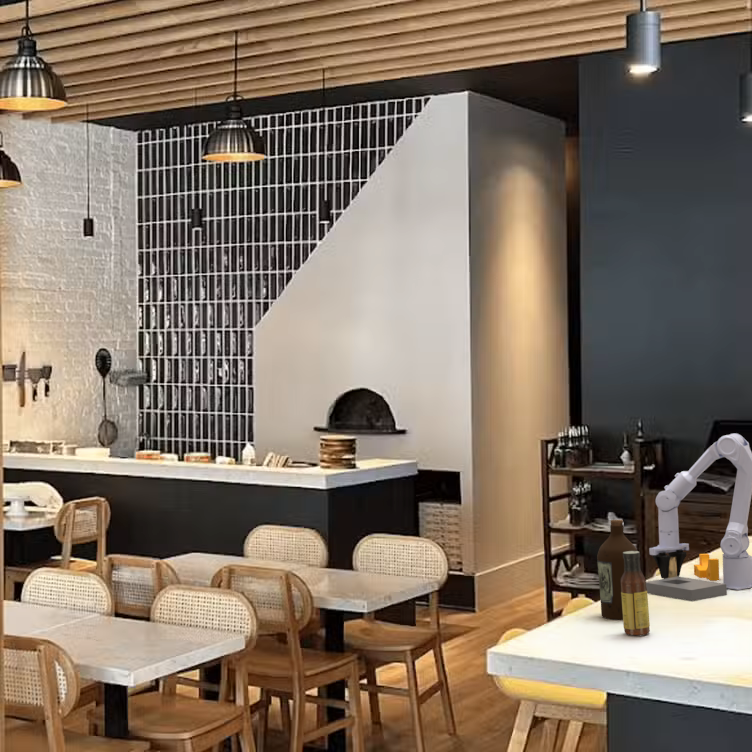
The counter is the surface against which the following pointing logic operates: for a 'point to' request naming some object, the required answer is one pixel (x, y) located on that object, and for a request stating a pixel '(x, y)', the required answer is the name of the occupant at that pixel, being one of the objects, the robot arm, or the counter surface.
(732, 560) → the robot arm
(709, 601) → the counter surface
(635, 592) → the sauce bottle
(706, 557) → the pipe clamp
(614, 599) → the olive oil
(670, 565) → the pin
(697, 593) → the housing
